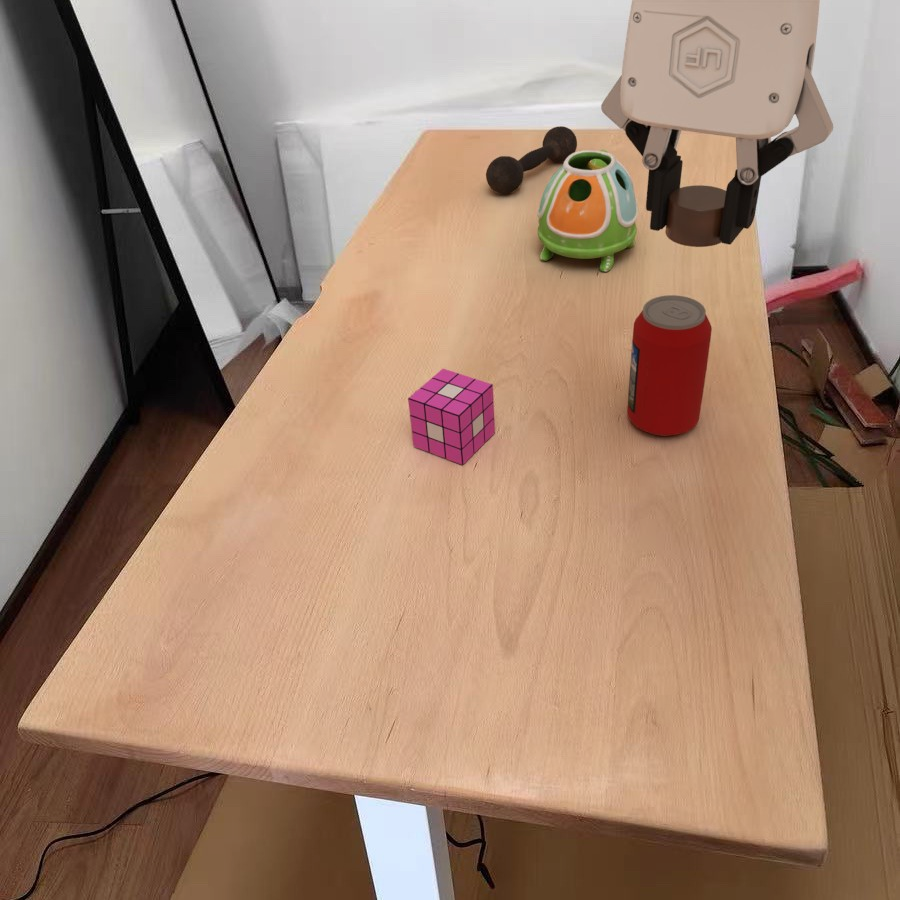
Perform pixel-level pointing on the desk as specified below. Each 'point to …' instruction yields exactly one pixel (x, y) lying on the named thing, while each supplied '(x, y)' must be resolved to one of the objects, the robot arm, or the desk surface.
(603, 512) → the desk surface
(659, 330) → the beverage can
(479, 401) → the puzzle toy
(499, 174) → the dumbbell
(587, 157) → the turtle holder
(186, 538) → the desk surface
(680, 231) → the dark brown cylinder
